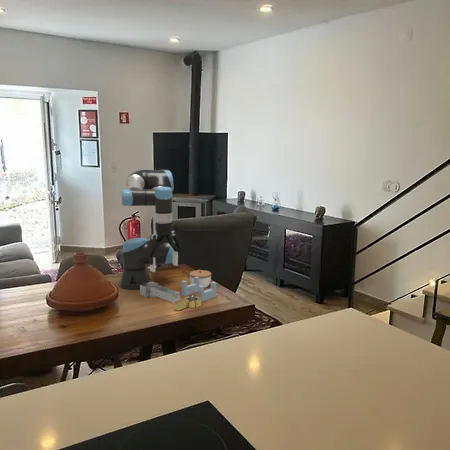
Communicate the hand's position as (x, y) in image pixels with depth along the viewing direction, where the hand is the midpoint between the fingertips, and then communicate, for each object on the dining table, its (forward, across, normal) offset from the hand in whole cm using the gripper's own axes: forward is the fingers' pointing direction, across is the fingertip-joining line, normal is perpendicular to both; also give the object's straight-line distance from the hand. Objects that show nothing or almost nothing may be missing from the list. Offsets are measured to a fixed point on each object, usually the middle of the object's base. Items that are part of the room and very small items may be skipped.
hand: (164, 268), depth 199 cm
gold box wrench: (+13, -2, -17) cm, 21 cm away
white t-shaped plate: (+15, -1, +2) cm, 15 cm away
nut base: (+14, +1, -17) cm, 22 cm away
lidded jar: (+15, +22, -1) cm, 27 cm away
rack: (+15, +11, -11) cm, 21 cm away
